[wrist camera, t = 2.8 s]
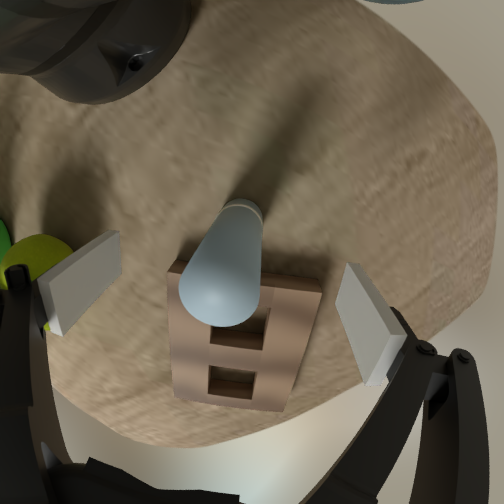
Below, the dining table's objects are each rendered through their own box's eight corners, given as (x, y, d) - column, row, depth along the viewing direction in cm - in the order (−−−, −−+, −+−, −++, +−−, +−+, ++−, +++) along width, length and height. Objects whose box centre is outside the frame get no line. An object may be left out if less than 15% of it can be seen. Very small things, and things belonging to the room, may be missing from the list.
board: (175, 259, 25) (167, 271, 23) (317, 279, 25) (322, 293, 23) (179, 382, 31) (174, 397, 29) (282, 396, 31) (282, 412, 29)
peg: (221, 195, 22) (178, 249, 11) (266, 201, 22) (266, 261, 11) (216, 237, 24) (177, 320, 13) (260, 243, 24) (254, 332, 13)
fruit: (29, 231, 25) (-30, 266, 15) (81, 214, 24) (13, 253, 14) (55, 300, 28) (9, 347, 19) (109, 296, 27) (60, 355, 18)
